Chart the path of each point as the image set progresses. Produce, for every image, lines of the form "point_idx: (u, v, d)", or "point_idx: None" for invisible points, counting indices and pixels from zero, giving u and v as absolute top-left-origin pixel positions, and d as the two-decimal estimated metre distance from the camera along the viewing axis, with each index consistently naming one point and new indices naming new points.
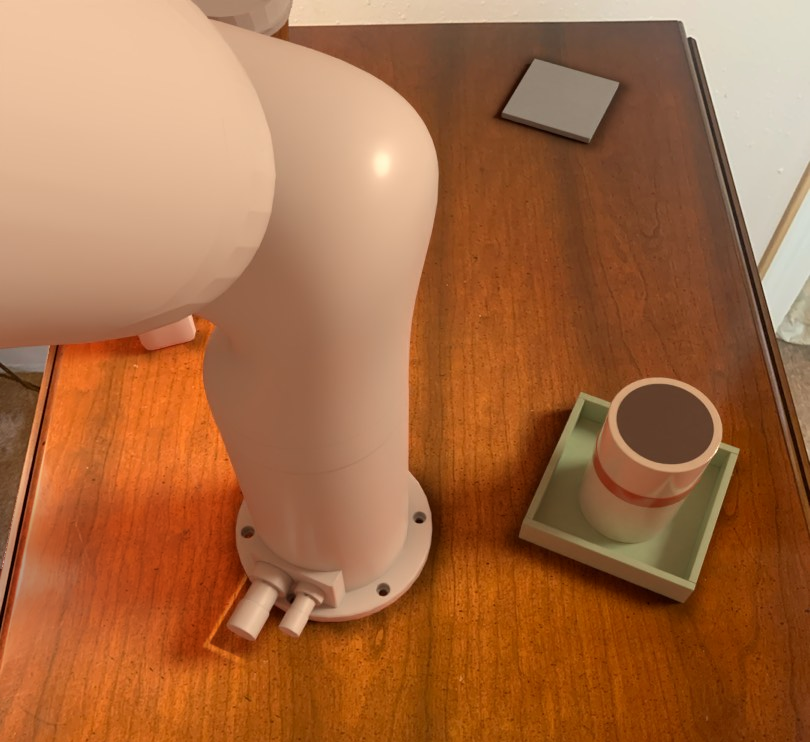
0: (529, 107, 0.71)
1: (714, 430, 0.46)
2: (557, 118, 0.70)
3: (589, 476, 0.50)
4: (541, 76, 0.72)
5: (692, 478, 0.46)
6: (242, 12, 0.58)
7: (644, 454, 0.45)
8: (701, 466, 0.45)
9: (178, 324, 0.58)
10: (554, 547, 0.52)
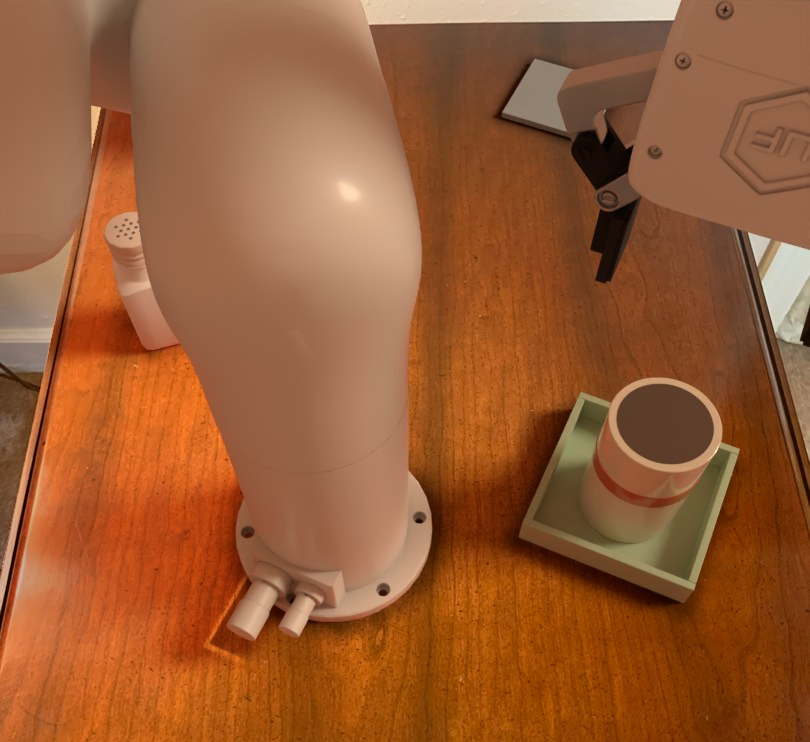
0: (529, 107, 0.71)
1: (714, 430, 0.46)
2: (557, 118, 0.70)
3: (589, 476, 0.50)
4: (541, 76, 0.72)
5: (692, 478, 0.46)
6: None
7: (644, 454, 0.45)
8: (701, 466, 0.45)
9: None
10: (554, 547, 0.52)
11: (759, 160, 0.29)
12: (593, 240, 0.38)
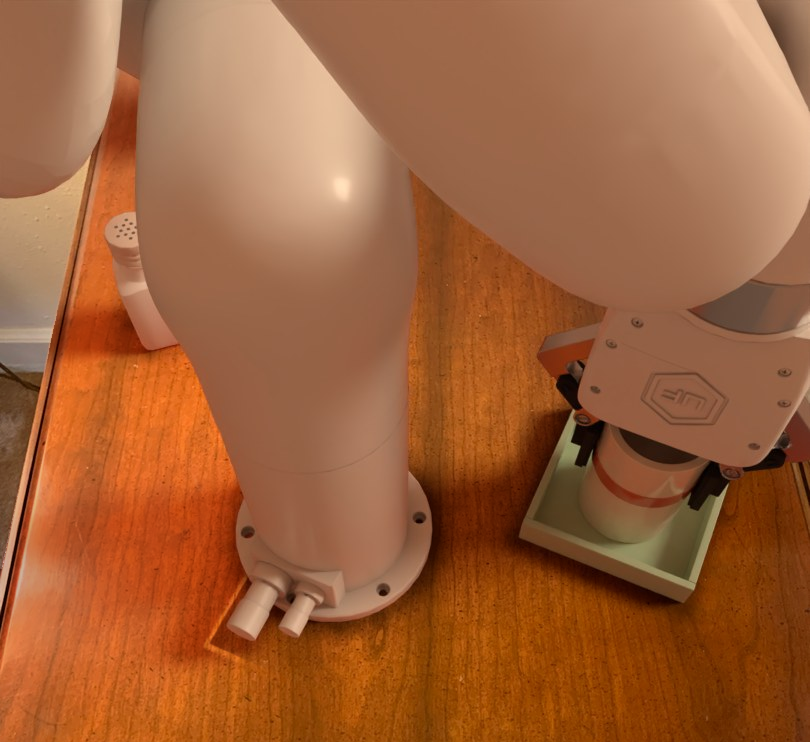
0: None
1: None
2: None
3: (589, 476, 0.50)
4: None
5: (692, 478, 0.46)
6: None
7: (644, 454, 0.45)
8: (701, 466, 0.45)
9: None
10: (554, 547, 0.52)
11: (668, 405, 0.40)
12: (572, 437, 0.49)
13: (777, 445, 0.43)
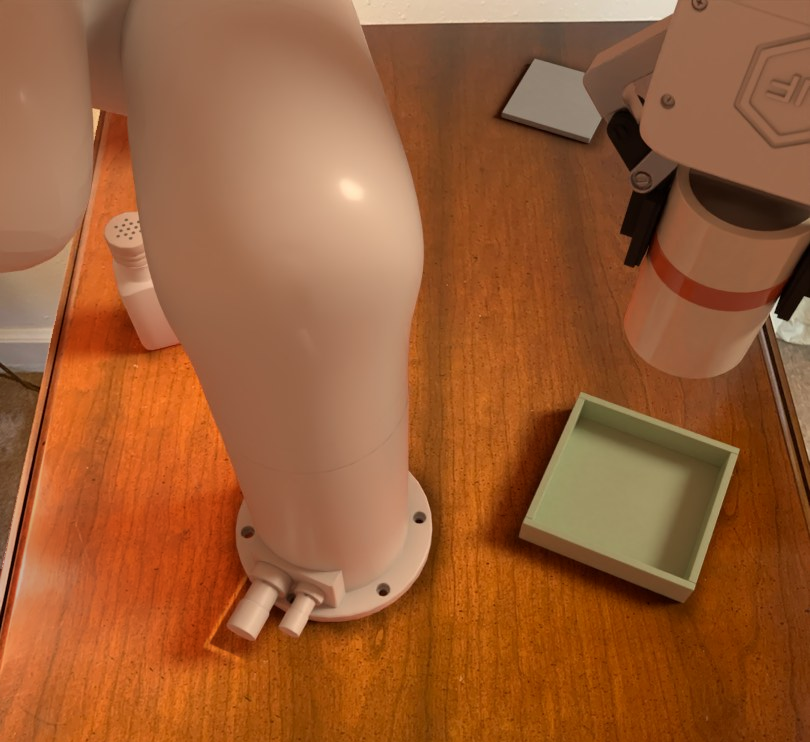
0: (529, 107, 0.71)
1: None
2: (557, 118, 0.70)
3: (643, 281, 0.39)
4: (541, 76, 0.72)
5: (789, 259, 0.34)
6: None
7: (727, 219, 0.33)
8: (805, 236, 0.33)
9: None
10: (554, 547, 0.52)
11: (774, 110, 0.28)
12: (623, 223, 0.37)
13: None
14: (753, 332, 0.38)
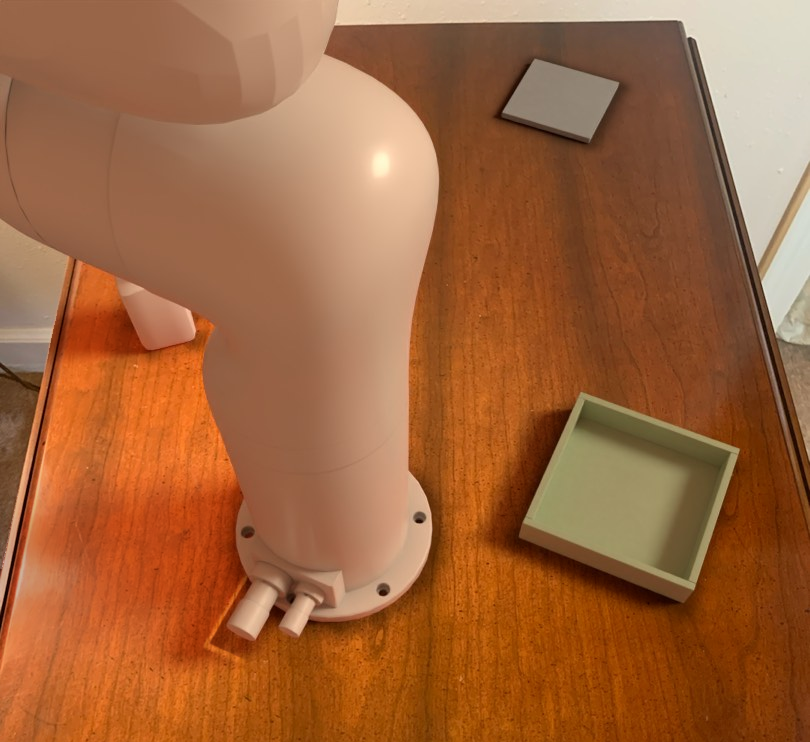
0: (529, 107, 0.71)
1: None
2: (557, 118, 0.70)
3: None
4: (541, 76, 0.72)
5: None
6: None
7: None
8: None
9: (178, 324, 0.58)
10: (554, 547, 0.52)
11: None
12: None
13: None
14: None
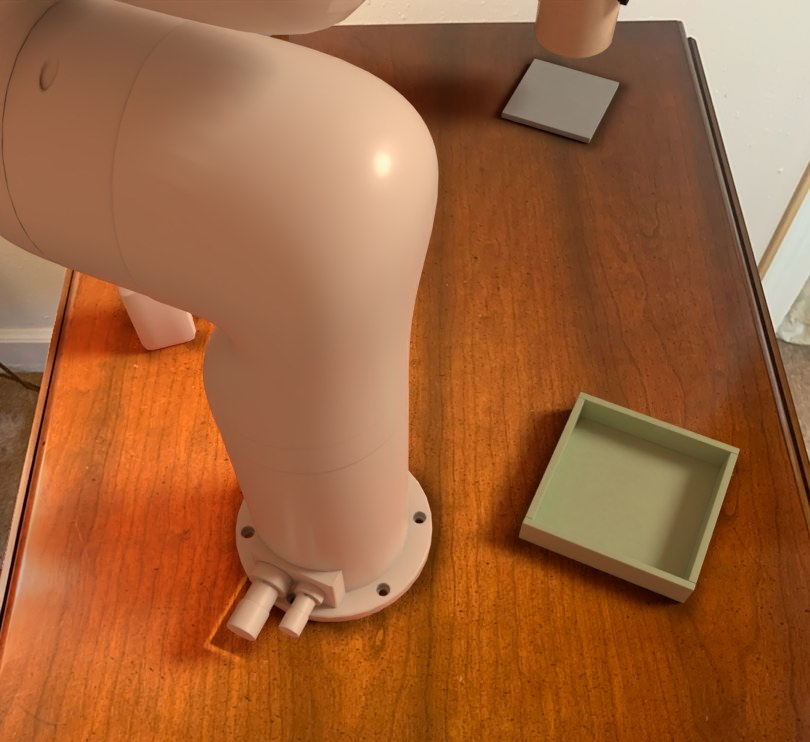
0: (529, 107, 0.71)
1: None
2: (557, 118, 0.70)
3: None
4: (541, 76, 0.72)
5: None
6: None
7: None
8: None
9: (178, 324, 0.58)
10: (554, 547, 0.52)
11: None
12: None
13: None
14: (608, 18, 0.63)
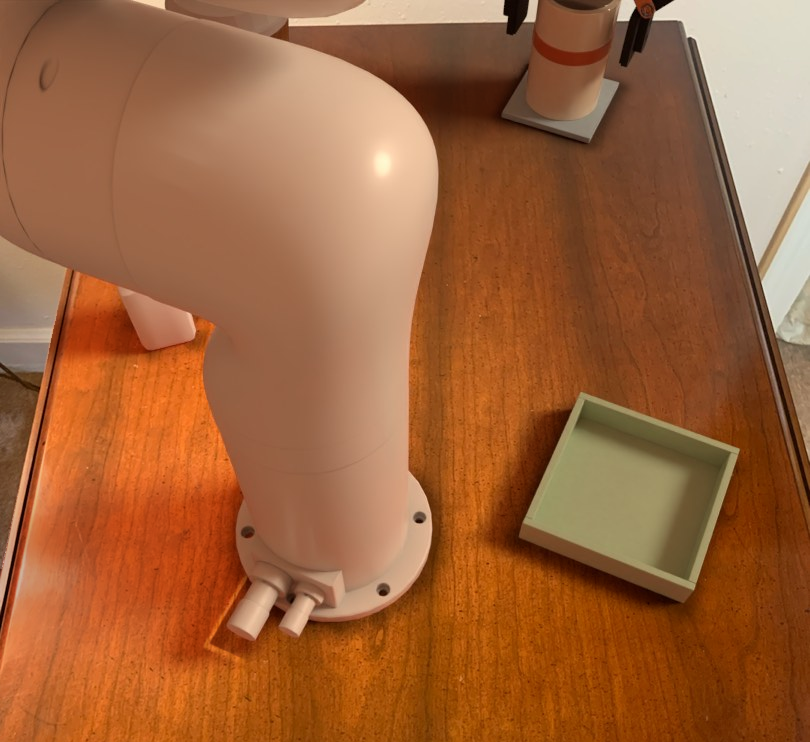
0: (529, 107, 0.71)
1: None
2: None
3: (531, 59, 0.68)
4: None
5: (601, 29, 0.63)
6: (242, 12, 0.58)
7: (565, 5, 0.62)
8: (606, 13, 0.62)
9: (178, 324, 0.58)
10: (554, 547, 0.52)
11: None
12: (504, 6, 0.66)
13: None
14: (593, 85, 0.68)
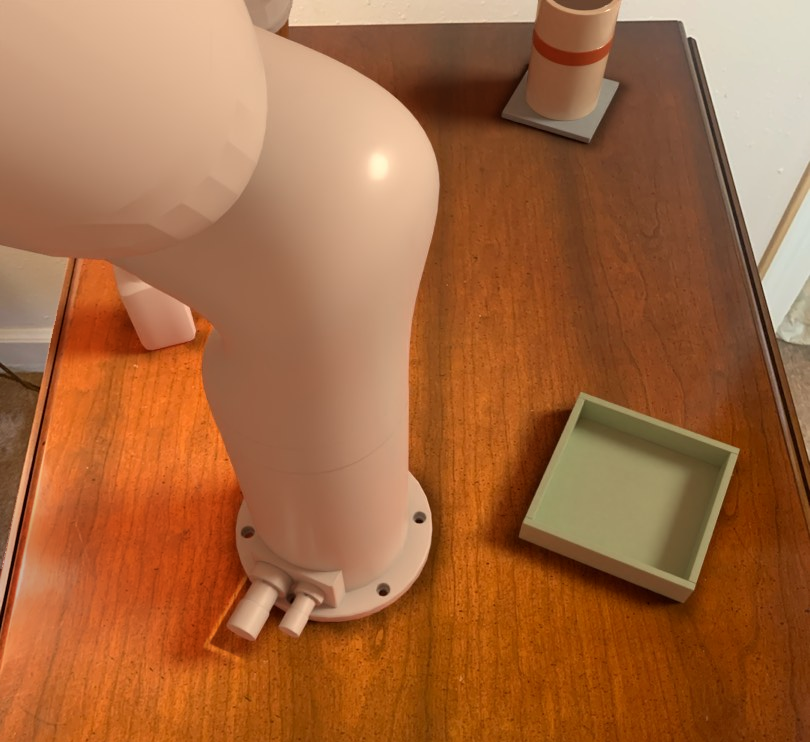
0: (529, 107, 0.71)
1: None
2: None
3: (531, 59, 0.68)
4: None
5: (601, 29, 0.63)
6: None
7: (565, 5, 0.62)
8: (606, 13, 0.62)
9: (178, 324, 0.58)
10: (554, 547, 0.52)
11: None
12: None
13: None
14: (593, 85, 0.68)
